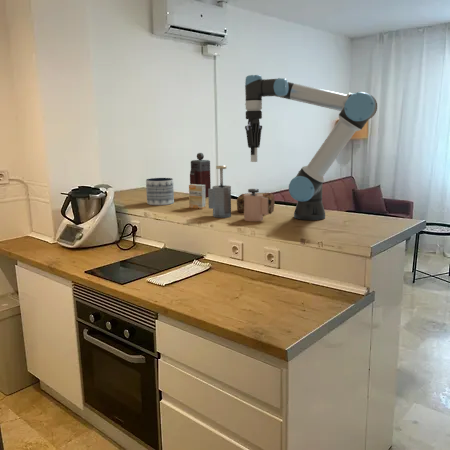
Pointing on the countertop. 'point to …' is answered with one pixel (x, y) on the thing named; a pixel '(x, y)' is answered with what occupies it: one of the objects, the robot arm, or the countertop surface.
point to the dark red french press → (200, 172)
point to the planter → (160, 191)
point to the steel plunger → (221, 174)
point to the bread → (266, 195)
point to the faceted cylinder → (220, 201)
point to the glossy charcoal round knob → (253, 191)
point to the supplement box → (197, 196)
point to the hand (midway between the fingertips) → (254, 161)
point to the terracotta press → (255, 207)
